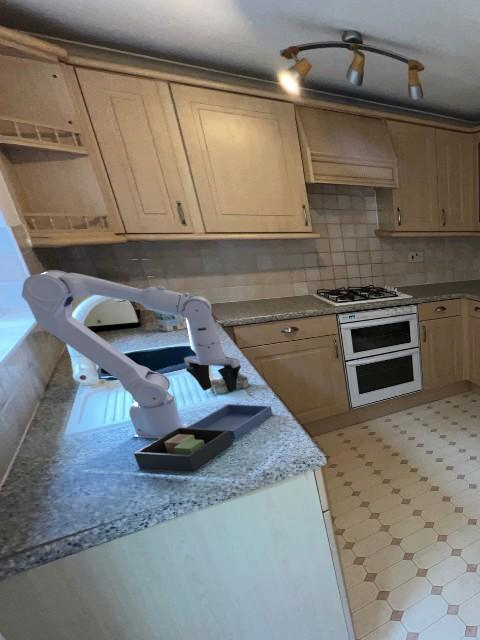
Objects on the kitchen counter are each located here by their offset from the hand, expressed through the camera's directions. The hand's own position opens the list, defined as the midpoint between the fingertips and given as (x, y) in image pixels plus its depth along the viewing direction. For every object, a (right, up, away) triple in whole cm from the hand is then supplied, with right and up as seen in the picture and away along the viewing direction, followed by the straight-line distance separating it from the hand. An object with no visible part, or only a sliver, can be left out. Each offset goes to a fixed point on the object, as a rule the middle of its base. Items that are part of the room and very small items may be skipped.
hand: (220, 389), depth 112 cm
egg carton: (-14, 0, +25) cm, 29 cm away
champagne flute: (-24, +2, +30) cm, 38 cm away
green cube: (+5, -16, -16) cm, 23 cm away
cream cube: (+1, -15, -14) cm, 21 cm away
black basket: (+3, -16, -15) cm, 22 cm away
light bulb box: (-93, +30, +96) cm, 137 cm away
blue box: (+4, -10, 0) cm, 11 cm away
